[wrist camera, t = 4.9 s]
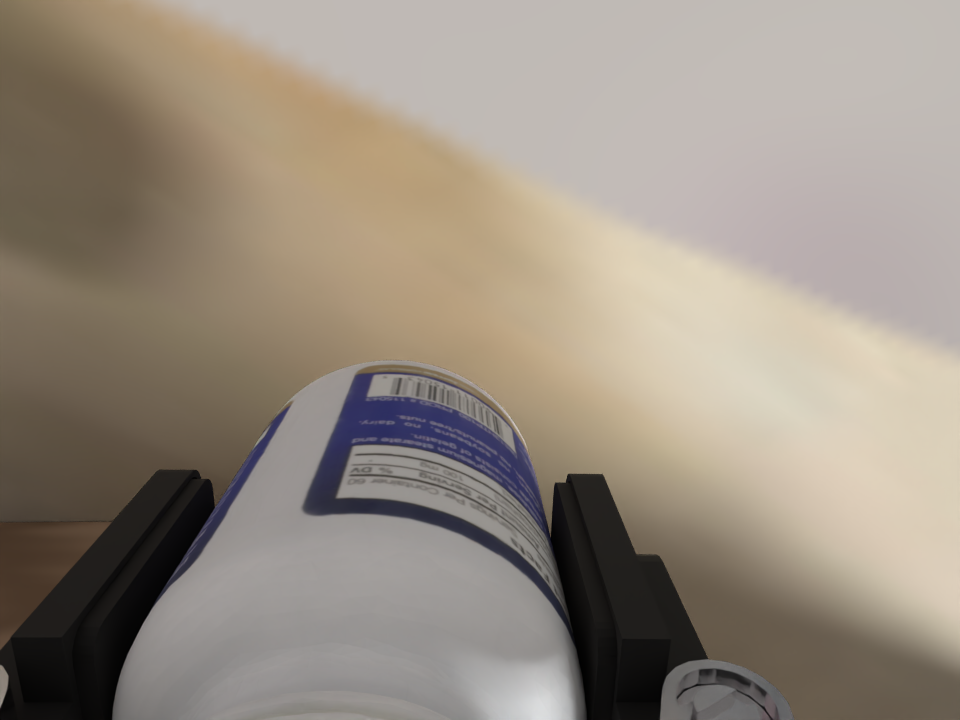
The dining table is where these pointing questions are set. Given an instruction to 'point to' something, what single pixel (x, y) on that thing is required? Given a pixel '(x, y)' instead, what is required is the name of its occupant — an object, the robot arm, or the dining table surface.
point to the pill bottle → (367, 570)
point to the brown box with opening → (37, 564)
